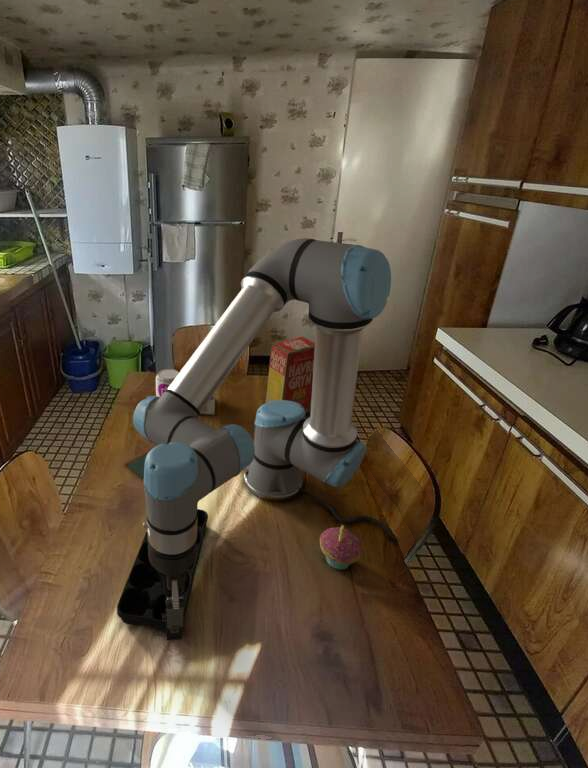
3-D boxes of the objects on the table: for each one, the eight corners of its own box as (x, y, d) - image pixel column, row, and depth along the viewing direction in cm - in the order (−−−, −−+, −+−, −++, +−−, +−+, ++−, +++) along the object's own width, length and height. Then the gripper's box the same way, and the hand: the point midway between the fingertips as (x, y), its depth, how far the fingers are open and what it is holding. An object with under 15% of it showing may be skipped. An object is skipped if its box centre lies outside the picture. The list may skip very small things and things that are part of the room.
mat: (204, 482, 115) (204, 482, 115) (173, 502, 109) (173, 502, 108) (157, 449, 128) (157, 448, 128) (126, 465, 122) (126, 464, 121)
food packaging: (280, 422, 142) (288, 352, 132) (263, 409, 150) (269, 342, 139) (311, 412, 148) (321, 344, 137) (293, 400, 156) (301, 335, 145)
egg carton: (114, 638, 78) (113, 624, 76) (134, 514, 105) (133, 502, 103) (213, 637, 78) (213, 624, 76) (207, 514, 105) (207, 502, 103)
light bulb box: (214, 415, 146) (215, 386, 141) (194, 414, 146) (195, 386, 141) (214, 399, 156) (215, 372, 151) (195, 398, 156) (195, 371, 151)
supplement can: (178, 421, 142) (177, 380, 136) (153, 418, 144) (152, 377, 137) (183, 408, 149) (183, 369, 143) (160, 406, 151) (159, 367, 144)
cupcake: (351, 584, 88) (362, 541, 83) (311, 565, 92) (318, 523, 87) (362, 554, 95) (372, 513, 90) (323, 538, 99) (331, 497, 94)
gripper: (146, 508, 72) (151, 604, 82) (148, 576, 60) (153, 677, 70) (191, 505, 73) (191, 599, 83) (202, 570, 61) (199, 671, 71)
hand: (174, 635), depth 77 cm, fingers closed
